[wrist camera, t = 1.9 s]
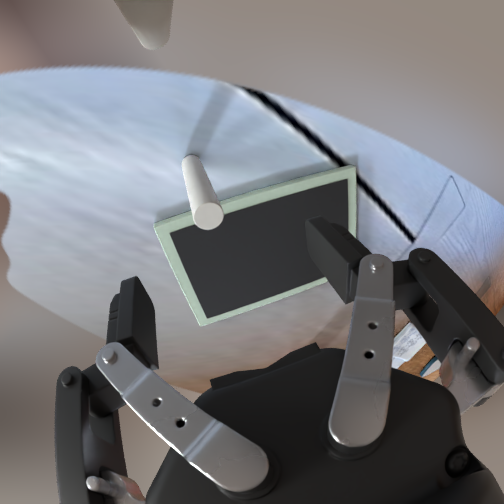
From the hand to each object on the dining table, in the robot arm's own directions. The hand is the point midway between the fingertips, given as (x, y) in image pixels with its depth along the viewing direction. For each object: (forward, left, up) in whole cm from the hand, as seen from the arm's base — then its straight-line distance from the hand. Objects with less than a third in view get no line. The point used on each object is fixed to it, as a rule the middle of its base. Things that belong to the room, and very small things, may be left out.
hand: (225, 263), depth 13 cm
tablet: (+13, +6, -17) cm, 22 cm away
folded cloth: (+59, +34, -17) cm, 70 cm away
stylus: (0, 0, -17) cm, 17 cm away
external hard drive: (+92, +67, -17) cm, 115 cm away
